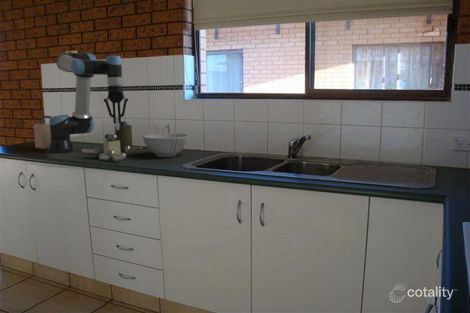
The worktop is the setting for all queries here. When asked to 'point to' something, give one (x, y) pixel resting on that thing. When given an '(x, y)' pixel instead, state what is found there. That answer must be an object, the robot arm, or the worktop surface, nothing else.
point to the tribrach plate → (111, 147)
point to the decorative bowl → (165, 143)
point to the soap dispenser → (42, 133)
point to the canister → (124, 135)
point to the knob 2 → (131, 149)
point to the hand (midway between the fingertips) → (117, 129)
